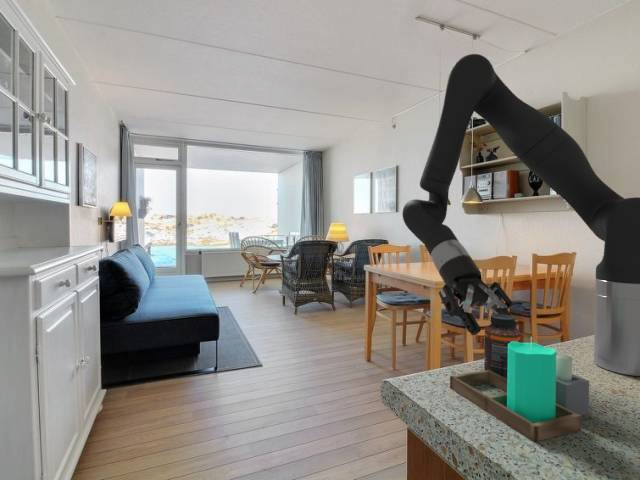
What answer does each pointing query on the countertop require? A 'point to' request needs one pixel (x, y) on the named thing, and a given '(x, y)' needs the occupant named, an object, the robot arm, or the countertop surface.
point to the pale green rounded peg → (563, 368)
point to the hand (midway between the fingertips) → (495, 331)
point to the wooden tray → (497, 407)
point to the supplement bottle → (499, 343)
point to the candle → (531, 381)
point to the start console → (573, 395)
